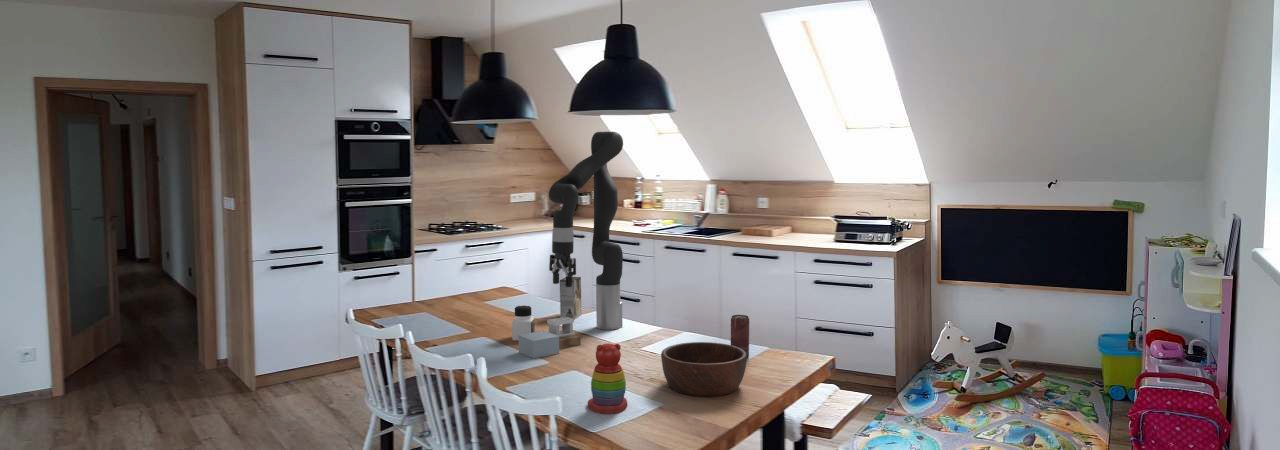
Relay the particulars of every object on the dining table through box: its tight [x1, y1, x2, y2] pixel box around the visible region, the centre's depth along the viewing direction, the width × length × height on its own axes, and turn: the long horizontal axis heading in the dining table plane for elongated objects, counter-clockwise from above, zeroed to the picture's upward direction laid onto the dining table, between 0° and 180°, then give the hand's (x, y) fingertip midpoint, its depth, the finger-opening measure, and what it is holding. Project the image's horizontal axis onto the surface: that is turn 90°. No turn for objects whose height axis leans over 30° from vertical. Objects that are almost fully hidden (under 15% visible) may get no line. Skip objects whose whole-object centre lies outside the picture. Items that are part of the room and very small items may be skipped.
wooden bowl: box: [660, 341, 748, 397], centre depth 229 cm, size 25×25×10 cm
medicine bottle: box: [511, 304, 536, 342], centre depth 286 cm, size 7×7×12 cm
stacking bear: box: [587, 343, 628, 415], centre depth 210 cm, size 11×10×18 cm
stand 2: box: [559, 334, 582, 350], centre depth 278 cm, size 10×10×3 cm
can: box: [730, 314, 750, 359], centre depth 259 cm, size 6×6×14 cm
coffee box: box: [559, 276, 582, 320], centre depth 321 cm, size 9×6×16 cm
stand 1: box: [518, 330, 560, 359], centre depth 267 cm, size 10×10×6 cm
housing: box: [546, 317, 575, 338], centre depth 278 cm, size 8×5×6 cm, turn 128°
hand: (562, 285), depth 279 cm, fingers open, 8 cm apart
